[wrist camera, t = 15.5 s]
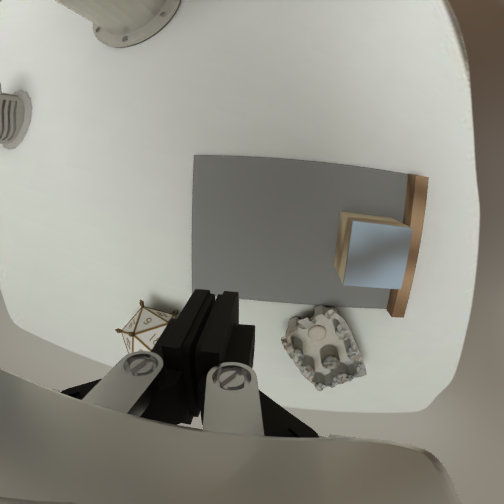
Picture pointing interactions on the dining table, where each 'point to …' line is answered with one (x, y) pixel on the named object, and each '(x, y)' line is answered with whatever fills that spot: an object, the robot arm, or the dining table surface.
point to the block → (371, 251)
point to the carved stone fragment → (324, 348)
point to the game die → (145, 328)
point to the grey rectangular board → (283, 227)
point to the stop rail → (413, 219)
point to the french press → (14, 118)
